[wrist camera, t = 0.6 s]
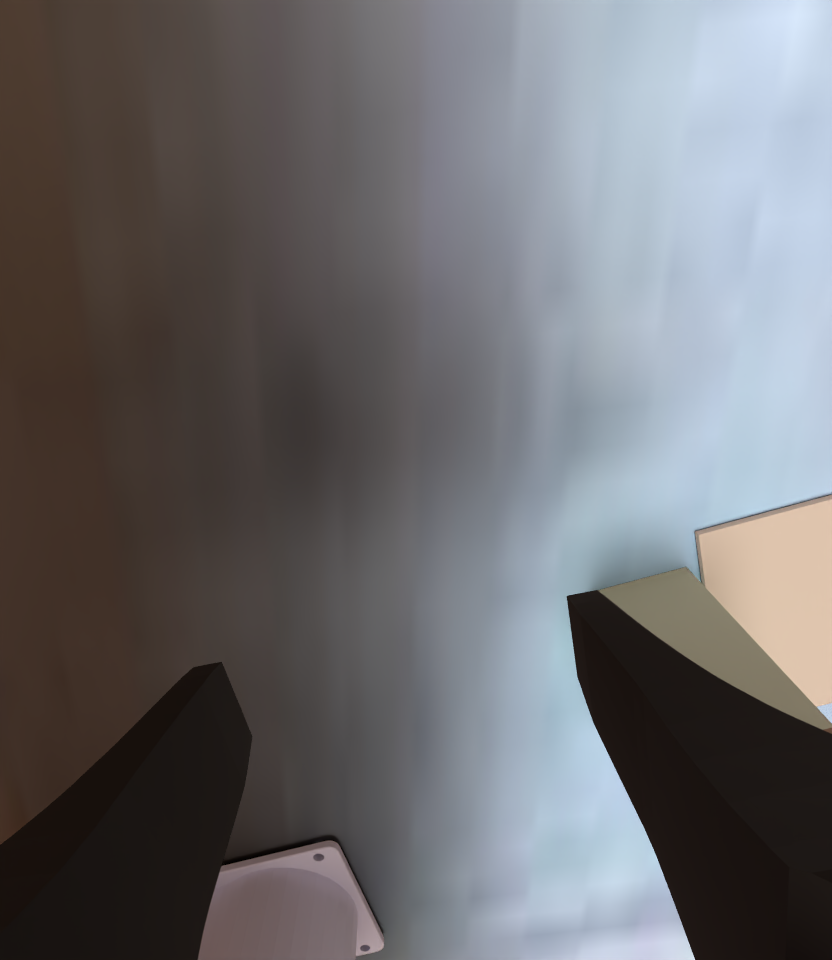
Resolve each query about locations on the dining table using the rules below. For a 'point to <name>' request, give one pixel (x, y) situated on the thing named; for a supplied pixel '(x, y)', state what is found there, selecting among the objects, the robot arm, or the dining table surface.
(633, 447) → the dining table surface
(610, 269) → the dining table surface
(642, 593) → the sage block
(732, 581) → the mat
